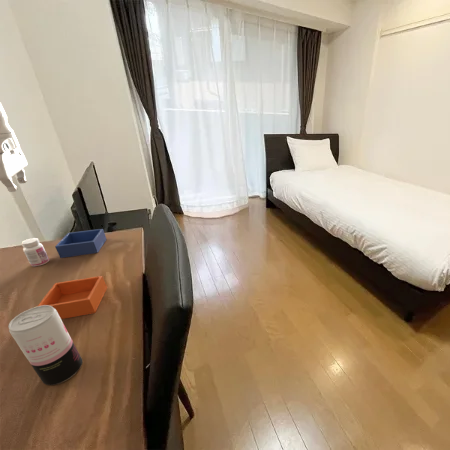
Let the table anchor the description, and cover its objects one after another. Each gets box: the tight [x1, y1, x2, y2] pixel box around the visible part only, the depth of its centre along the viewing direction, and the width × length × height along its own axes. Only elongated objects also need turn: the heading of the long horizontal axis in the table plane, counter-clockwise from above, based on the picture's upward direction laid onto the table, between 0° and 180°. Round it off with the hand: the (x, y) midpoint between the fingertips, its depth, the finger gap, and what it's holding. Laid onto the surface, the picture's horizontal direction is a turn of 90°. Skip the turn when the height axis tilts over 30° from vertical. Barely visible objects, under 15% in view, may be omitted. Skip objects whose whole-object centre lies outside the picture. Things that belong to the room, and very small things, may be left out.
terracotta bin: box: [37, 275, 108, 320], centre depth 72 cm, size 11×10×5 cm
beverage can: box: [8, 305, 83, 386], centre depth 53 cm, size 7×7×15 cm
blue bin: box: [54, 228, 107, 259], centre depth 98 cm, size 11×10×5 cm
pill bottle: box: [21, 237, 50, 267], centre depth 89 cm, size 5×5×8 cm
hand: (18, 186), depth 88 cm, fingers open, 8 cm apart
